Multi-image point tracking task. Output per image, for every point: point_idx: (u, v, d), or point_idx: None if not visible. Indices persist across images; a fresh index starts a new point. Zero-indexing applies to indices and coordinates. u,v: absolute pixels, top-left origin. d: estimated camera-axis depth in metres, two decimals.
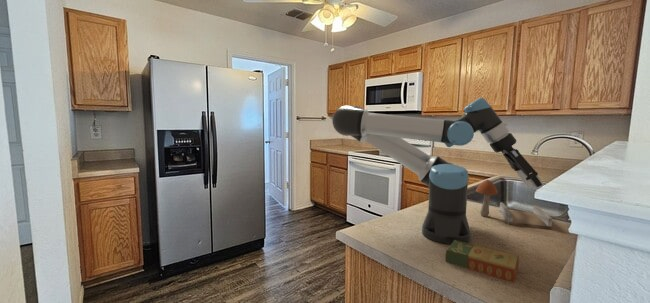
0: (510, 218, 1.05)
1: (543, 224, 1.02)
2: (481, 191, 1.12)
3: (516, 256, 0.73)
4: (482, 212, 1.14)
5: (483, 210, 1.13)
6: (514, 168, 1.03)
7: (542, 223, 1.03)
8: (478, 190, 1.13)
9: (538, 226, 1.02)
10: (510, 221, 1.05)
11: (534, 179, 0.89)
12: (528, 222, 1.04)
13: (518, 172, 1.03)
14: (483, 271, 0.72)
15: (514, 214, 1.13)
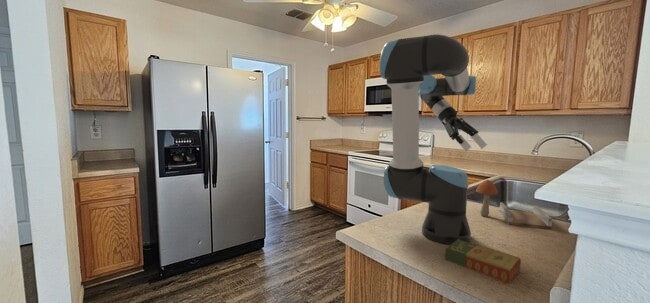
0: (510, 218, 1.05)
1: (543, 224, 1.02)
2: (481, 191, 1.12)
3: (517, 258, 0.71)
4: (482, 212, 1.14)
5: (483, 210, 1.13)
6: (458, 132, 1.16)
7: (542, 223, 1.03)
8: (478, 190, 1.13)
9: (538, 226, 1.02)
10: (510, 221, 1.05)
11: None
12: (528, 222, 1.04)
13: None
14: (480, 270, 0.72)
15: (514, 214, 1.13)
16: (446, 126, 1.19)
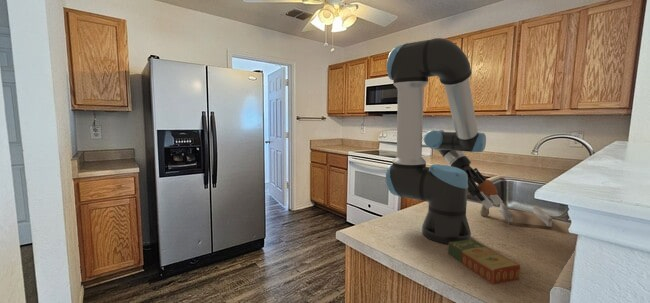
0: (510, 218, 1.05)
1: (543, 224, 1.02)
2: (481, 191, 1.12)
3: (515, 264, 0.69)
4: (482, 212, 1.14)
5: (483, 210, 1.13)
6: (477, 187, 1.12)
7: (542, 223, 1.03)
8: None
9: (538, 226, 1.02)
10: (510, 221, 1.05)
11: None
12: (528, 222, 1.04)
13: None
14: (471, 268, 0.73)
15: (514, 214, 1.13)
16: None
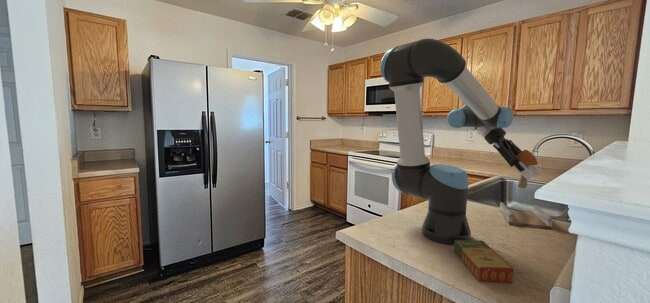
0: (510, 218, 1.05)
1: (543, 224, 1.02)
2: (520, 161, 1.06)
3: (508, 267, 0.67)
4: (520, 184, 1.08)
5: (521, 182, 1.08)
6: None
7: (542, 223, 1.03)
8: None
9: (538, 226, 1.02)
10: (510, 221, 1.05)
11: None
12: (528, 222, 1.04)
13: None
14: (466, 265, 0.75)
15: (514, 214, 1.13)
16: (500, 151, 1.08)
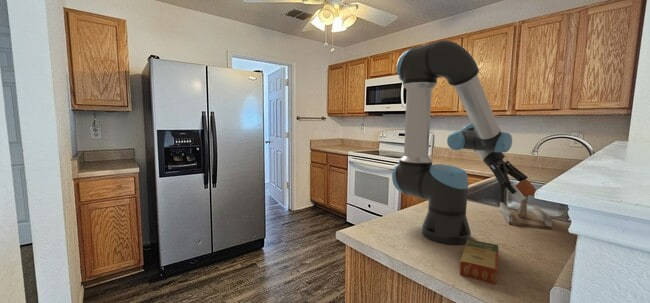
0: (510, 218, 1.05)
1: (543, 224, 1.02)
2: None
3: (492, 267, 0.67)
4: (520, 213, 1.09)
5: (521, 211, 1.09)
6: (509, 180, 1.08)
7: (542, 223, 1.03)
8: None
9: (538, 226, 1.02)
10: (510, 221, 1.05)
11: None
12: (528, 222, 1.04)
13: None
14: None
15: (514, 214, 1.13)
16: (495, 173, 1.10)
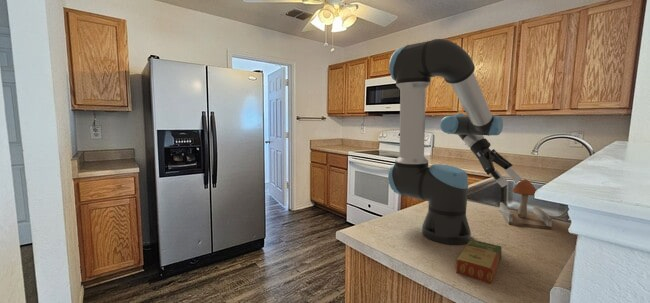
0: (510, 218, 1.05)
1: (543, 224, 1.02)
2: (519, 191, 1.07)
3: (487, 266, 0.68)
4: (520, 213, 1.09)
5: (521, 211, 1.09)
6: (493, 166, 1.13)
7: (542, 223, 1.03)
8: (516, 190, 1.08)
9: (538, 226, 1.02)
10: (510, 221, 1.05)
11: None
12: (528, 222, 1.04)
13: None
14: None
15: (514, 214, 1.13)
16: (480, 160, 1.15)
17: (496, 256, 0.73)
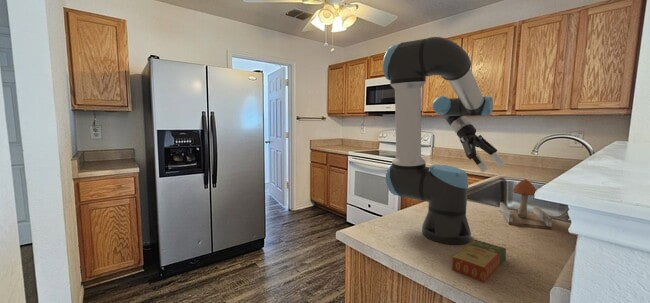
0: (510, 218, 1.05)
1: (543, 224, 1.02)
2: (519, 191, 1.07)
3: (481, 265, 0.68)
4: (520, 213, 1.09)
5: (521, 211, 1.09)
6: None
7: (542, 223, 1.03)
8: (516, 190, 1.08)
9: (538, 226, 1.02)
10: (510, 221, 1.05)
11: None
12: (528, 222, 1.04)
13: None
14: None
15: (514, 214, 1.13)
16: (464, 145, 1.18)
17: (495, 257, 0.72)
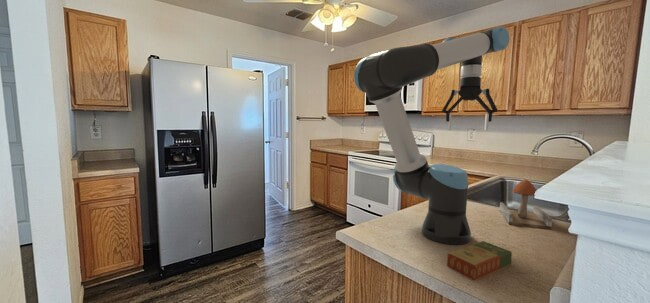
0: (510, 218, 1.05)
1: (543, 224, 1.02)
2: (519, 191, 1.07)
3: (472, 263, 0.69)
4: (520, 213, 1.09)
5: (521, 211, 1.09)
6: None
7: (542, 223, 1.03)
8: (516, 190, 1.08)
9: (538, 226, 1.02)
10: (510, 221, 1.05)
11: None
12: (528, 222, 1.04)
13: None
14: None
15: (514, 214, 1.13)
16: None
17: (493, 258, 0.72)
